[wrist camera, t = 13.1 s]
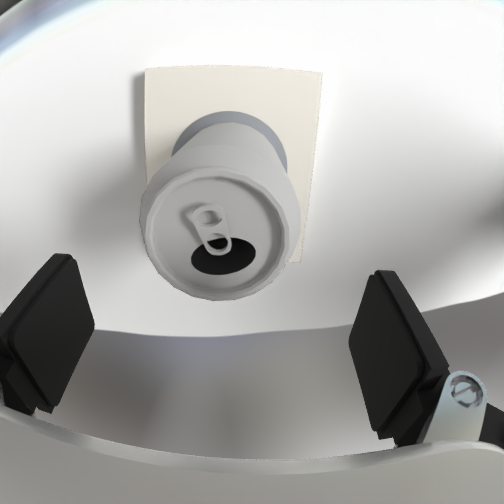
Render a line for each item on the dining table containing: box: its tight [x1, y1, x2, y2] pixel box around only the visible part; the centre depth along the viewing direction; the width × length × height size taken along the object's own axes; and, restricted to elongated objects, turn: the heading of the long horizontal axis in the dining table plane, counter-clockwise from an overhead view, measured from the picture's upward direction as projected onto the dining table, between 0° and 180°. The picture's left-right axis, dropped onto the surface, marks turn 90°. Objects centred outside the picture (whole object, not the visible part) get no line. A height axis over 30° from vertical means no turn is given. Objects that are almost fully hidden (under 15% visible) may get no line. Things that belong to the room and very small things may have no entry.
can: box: [139, 122, 301, 301], centre depth 18 cm, size 8×8×12 cm
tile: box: [144, 65, 322, 262], centre depth 24 cm, size 13×16×2 cm
